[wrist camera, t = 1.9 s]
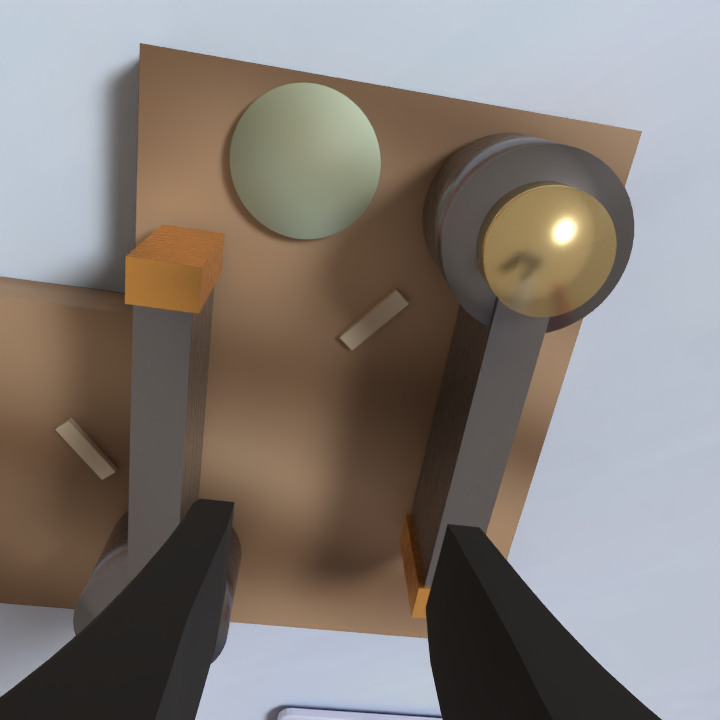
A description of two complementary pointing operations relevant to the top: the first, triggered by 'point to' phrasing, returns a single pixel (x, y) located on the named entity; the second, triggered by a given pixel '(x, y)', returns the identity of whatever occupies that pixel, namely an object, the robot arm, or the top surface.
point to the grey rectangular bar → (164, 409)
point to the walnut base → (272, 342)
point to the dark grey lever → (504, 311)
